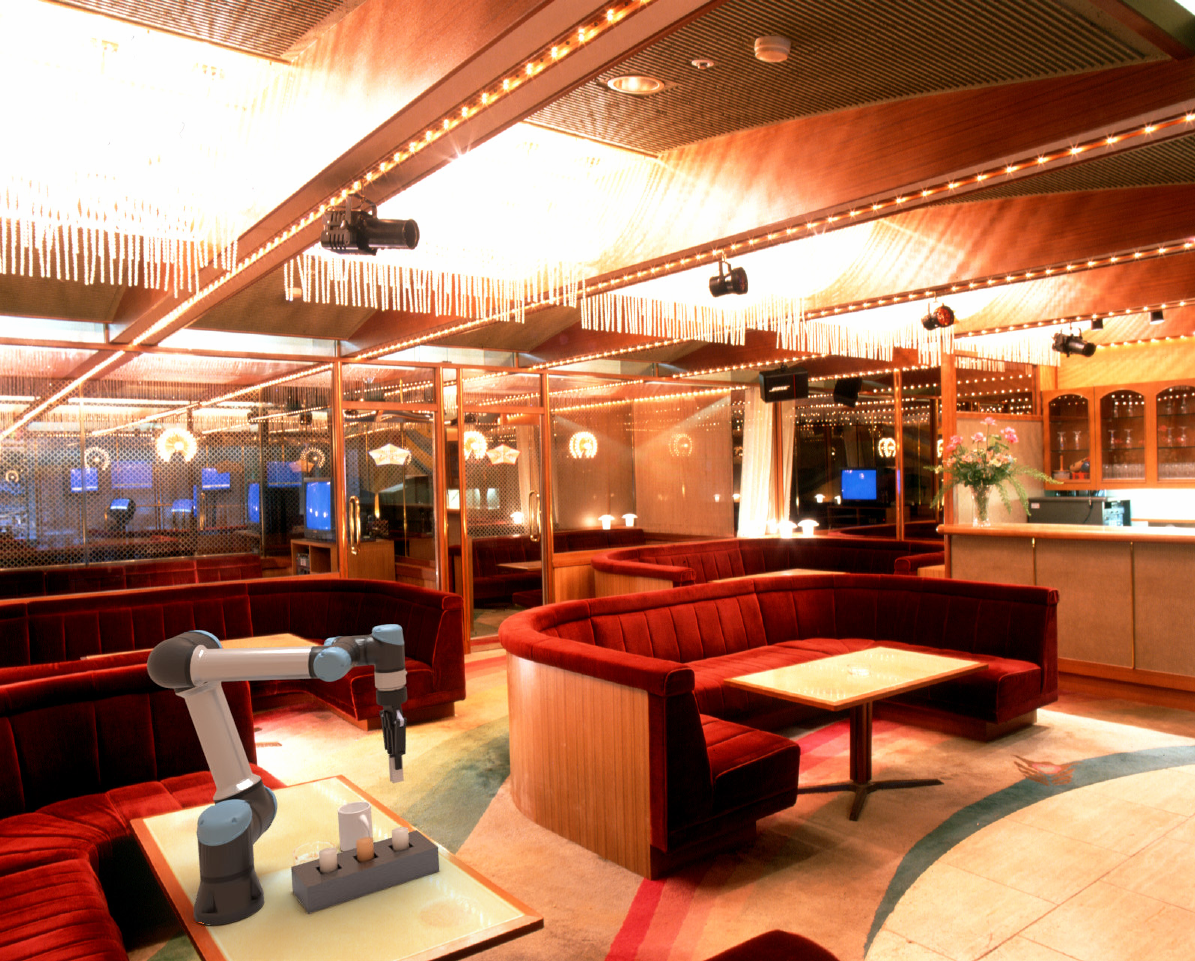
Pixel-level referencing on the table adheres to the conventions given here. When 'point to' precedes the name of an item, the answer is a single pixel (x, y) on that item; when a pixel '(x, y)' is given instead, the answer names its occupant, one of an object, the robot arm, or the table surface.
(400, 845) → the cream rounded knob
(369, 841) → the knob mid
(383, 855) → the panel
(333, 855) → the knob near
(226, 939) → the table surface
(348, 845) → the mug
